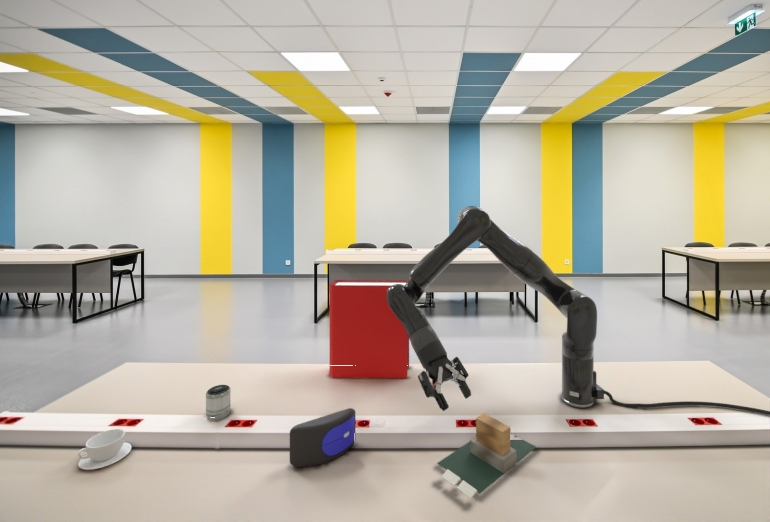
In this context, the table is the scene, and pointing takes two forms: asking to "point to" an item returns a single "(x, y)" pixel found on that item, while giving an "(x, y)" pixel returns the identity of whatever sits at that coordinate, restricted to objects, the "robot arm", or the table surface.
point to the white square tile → (451, 477)
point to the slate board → (480, 465)
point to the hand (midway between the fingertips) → (457, 403)
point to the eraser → (493, 443)
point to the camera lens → (218, 402)
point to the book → (366, 331)
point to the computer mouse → (322, 438)
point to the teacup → (104, 449)
